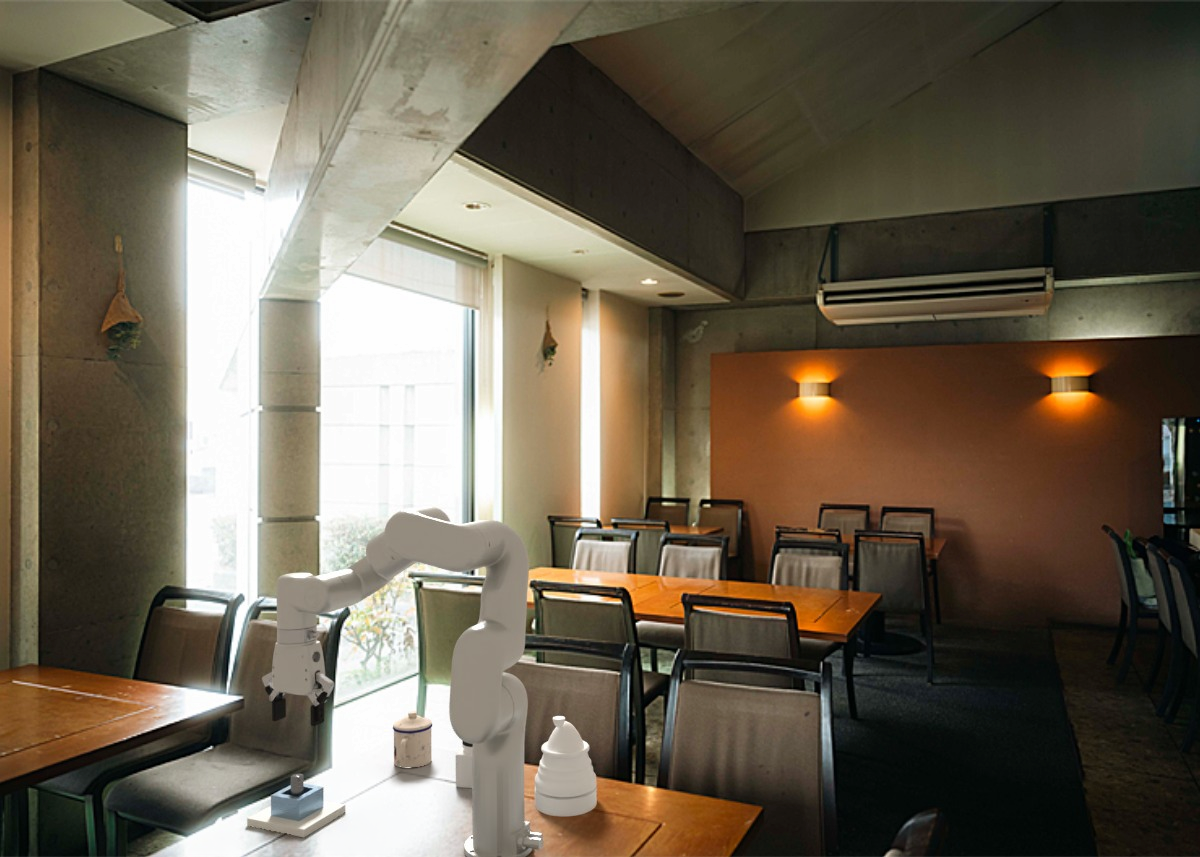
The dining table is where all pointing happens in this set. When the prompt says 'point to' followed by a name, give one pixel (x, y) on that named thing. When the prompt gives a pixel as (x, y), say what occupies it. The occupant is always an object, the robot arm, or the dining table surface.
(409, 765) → the teacup with lid
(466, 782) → the medicine bottle
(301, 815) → the collar
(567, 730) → the honey pot
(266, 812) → the base plate
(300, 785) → the steel post
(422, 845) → the dining table surface
